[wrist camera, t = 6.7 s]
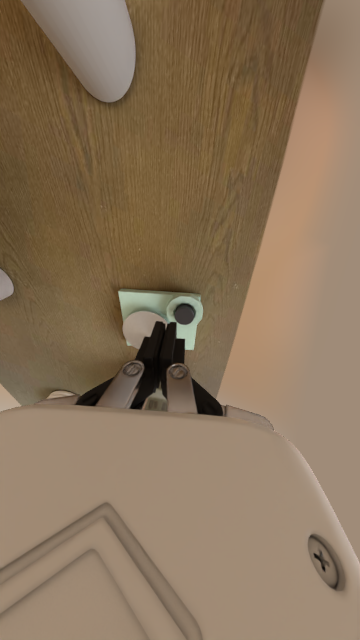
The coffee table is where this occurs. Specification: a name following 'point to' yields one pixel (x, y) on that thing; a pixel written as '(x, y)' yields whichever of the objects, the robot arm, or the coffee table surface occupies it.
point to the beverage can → (91, 41)
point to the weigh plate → (140, 326)
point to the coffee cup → (5, 285)
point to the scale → (163, 308)
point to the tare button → (184, 314)
